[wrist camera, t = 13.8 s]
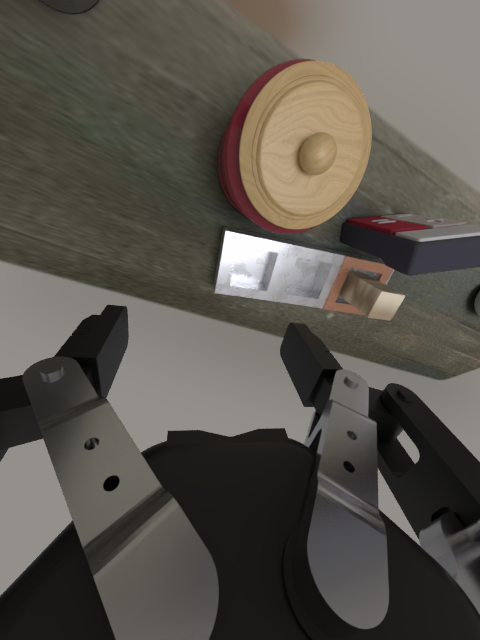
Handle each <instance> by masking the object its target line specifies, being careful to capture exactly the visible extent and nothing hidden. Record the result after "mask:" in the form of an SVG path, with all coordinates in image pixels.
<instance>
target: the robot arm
mask: <svg viewBox="0 0 480 640" xmlns="http://www.w3.org/2000/svg"><path fill="white" fill-rule="evenodd" d="M41 1H42V2H44V3H45V4H46V5H48V6H50V7H52V8H54V9H56V10H58V11H62V12H67V13H81V12H83V11H86V10H88V9H90V8H91V7H92V6H93V5H94V4H96V3H97V1H98V0H41ZM127 344H128V314H127V307H126V306H116V305H107V306H106V307H105V309H104V310H103V312H102V313H101V315H91V316H90V317H88V318H86V319H84V320H83V321H82V322H81V323H80V325H79V326H78V327H77V329H76V330H75V331H74V332H73V333H72V336H70V337H69V338H68V340H67V341H66V342H65V344H64V345H63V346H62V347H61V349H60V350H59V351H58V352H57V354H56V355H55V356H54V357H52V358H48V359H44V360H41V361H39V362H37V363H35V364H33V365H32V366H30V367H29V368H28V369H27V370H26V371H25V372H24V374H23V375H20V376H15V377H9V378H3V379H0V461H1V460H2V458H3V456H4V455H5V453H6V452H7V450H8V448H10V447H14V446H17V445H21V444H25V443H28V442H32V441H36V440H39V439H44V441H45V444H46V447H47V450H48V453H49V455H50V458H51V461H52V464H53V466H54V469H55V472H56V475H57V477H58V480H59V483H60V486H61V489H62V491H63V494H64V497H65V500H66V502H67V505H68V508H69V511H70V513H71V516H72V519H73V521H72V522H71V523H70V524H69V525H68V526H67V527H66V528H65V529H64V530H63V531H62V532H61V533H60V534H59V535H58V536H57V537H56V538H55V540H54V541H53V542H52V543H51V544H50V545H49V546H48V547H47V548H46V549H45V550H44V551H43V552H42V553H41V554H40V555H39V556H38V557H37V558H36V560H34V561H33V562H32V564H31V565H30V566H29V567H28V568H27V569H26V570H25V571H24V572H23V573H22V574H21V575H20V576H19V577H18V578H17V579H16V580H15V581H14V583H12V585H10V587H9V588H8V589H7V590H6V591H5V592H4V593H3V594H2V595H1V596H0V640H480V462H479V461H478V460H477V459H476V458H475V457H474V456H473V454H472V453H471V452H470V451H469V450H468V449H467V448H466V447H465V446H464V445H463V444H462V443H461V442H460V441H459V440H458V439H457V438H456V436H455V435H454V434H453V433H452V432H451V431H450V430H449V429H448V428H447V427H446V426H445V425H444V424H443V423H442V422H441V421H440V419H439V418H438V417H437V416H436V415H435V414H434V413H433V412H432V411H431V410H430V409H429V408H428V407H427V406H426V405H425V403H424V402H423V401H422V400H421V399H420V398H419V397H418V396H417V395H416V394H415V393H413V392H412V391H411V390H409V389H407V388H405V387H404V386H402V385H399V384H394V383H391V384H388V385H387V386H386V388H385V389H384V390H383V391H381V390H378V389H374V388H371V387H368V384H367V383H366V381H365V380H364V379H363V378H362V377H360V376H359V375H357V374H356V373H354V372H351V371H348V370H343V369H342V367H341V366H340V364H339V363H338V362H337V360H336V359H335V358H334V356H333V355H332V354H331V353H330V351H329V350H328V349H327V347H326V346H325V345H324V343H323V342H322V341H321V339H319V338H318V337H317V336H315V335H314V334H312V333H311V331H310V330H309V328H308V327H307V326H306V325H305V324H301V323H290V324H289V325H288V328H287V330H286V333H285V336H284V339H283V342H282V344H281V349H280V355H281V358H282V360H283V362H284V365H285V367H286V369H287V371H288V373H289V375H290V377H291V380H292V382H293V384H294V386H295V388H296V390H297V392H298V395H299V397H300V399H301V401H302V403H303V405H304V407H315V409H316V410H315V412H314V414H313V417H312V420H311V423H310V426H309V430H308V433H307V436H306V439H305V443H304V444H302V443H300V442H297V441H295V440H293V439H290V438H288V437H287V434H286V431H285V429H284V428H280V429H257V430H253V431H250V432H247V433H244V434H240V435H237V436H233V437H227V436H223V435H218V434H214V433H209V432H205V431H200V430H190V431H168V436H167V441H165V442H162V443H159V444H157V445H154V446H152V447H150V448H148V449H146V450H145V451H143V452H140V451H139V449H138V448H137V446H136V445H135V443H134V441H133V440H132V438H131V437H130V435H129V434H128V432H127V430H126V429H125V427H124V426H123V424H122V422H121V421H120V419H119V418H118V416H117V415H116V413H115V411H114V410H113V408H112V406H111V405H110V403H109V402H108V400H107V399H106V397H107V395H108V392H109V390H110V388H111V385H112V383H113V380H114V378H115V375H116V373H117V370H118V368H119V365H120V363H121V361H122V358H123V355H124V353H125V350H126V348H127ZM402 430H404V431H405V432H406V433H407V435H408V436H409V437H410V439H412V441H413V442H414V444H415V445H416V447H417V448H418V450H419V453H420V458H419V461H418V462H417V463H416V464H414V462H413V461H412V459H411V458H410V457H409V455H408V454H407V452H406V451H405V449H404V448H403V447H402V445H401V444H400V442H399V441H398V440H397V438H396V437H397V436H398V435H399V434H400V433H401V432H402ZM378 469H379V470H380V472H381V474H382V476H383V477H384V479H385V481H386V483H387V484H388V486H389V488H390V490H391V491H392V493H393V495H394V497H395V498H396V500H397V502H398V503H399V505H400V507H401V509H402V510H403V512H404V514H405V516H406V518H407V520H408V521H409V523H410V525H411V526H412V528H413V530H414V532H415V533H416V535H417V537H418V539H419V541H420V545H421V547H420V546H419V545H418V544H417V543H416V542H415V541H414V540H412V538H410V537H409V536H408V535H407V534H406V533H405V532H404V531H403V530H401V529H400V528H399V527H398V526H397V525H396V524H395V523H394V522H393V521H392V520H390V519H389V518H388V517H387V516H386V515H385V514H384V513H383V512H381V511H380V510H379V509H378Z"/></svg>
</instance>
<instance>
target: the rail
mask: <svg viewBox="0 0 480 640" xmlns="http://www.w3.org/2000/svg"><path fill="white" fill-rule="evenodd" d="M350 270H355V271H360V272H363V273H365V274H367V275H369V276H370V277H372V278H374V279H376V280H378V281H380V282H381V283H383V284H385V285H386V284H387V283H388V281H389V279H390V277H391V275H392V273H393V272H394V269H392V268H390V267H387V266H386V265H385V263H384V262H383V261H382V260H379V259H375V258H370V257H365V256H361V255H356V254H351V253H347V252H342V251H337V250H333V249H328V248H323V247H319V246H314V245H309V244H304V243H300V242H295V241H290V240H286V239H281V238H276V237H272V236H267V235H262V234H258V233H253V232H248V231H244V230H239V229H234V228H229V227H225V226H223V231H222V237H221V242H220V248H219V254H218V260H217V265H216V271H215V277H214V283H213V284H214V291H215V293H220V294H227V295H234V296H240V297H247V298H254V299H261V300H268V301H275V302H282V303H289V304H296V305H303V306H310V307H317V308H323V309H326V310H333V311H340V312H347V313H354V314H361V315H364V314H363V313H362V312H360V311H359V310H358V309H357V308H355V307H354V306H353V305H352V304H350V303H349V302H348V301H346V300H345V299H344V298H343V297H341V296H340V295H339V293H340V290H341V288H342V286H343V284H344V282H345V279H346V277H347V275H348V273H349V271H350Z"/></svg>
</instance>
